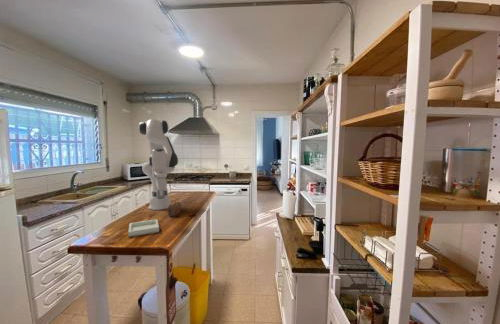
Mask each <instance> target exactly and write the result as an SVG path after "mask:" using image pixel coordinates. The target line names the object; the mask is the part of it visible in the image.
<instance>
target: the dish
mask: <svg viewBox="0 0 500 324" xmlns="http://www.w3.org/2000/svg"><path fill="white" fill-rule="evenodd" d="M127 232H128V235H127V236H128V238H133V237H137V236H144V235H150V234H155V233H160V224H159V221H158V218H156V219H149V220H142V221H136V222H130V223H129V225H128V231H127Z"/></svg>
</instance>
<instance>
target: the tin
mask: <svg viewBox="0 0 500 324" xmlns="http://www.w3.org/2000/svg"><path fill="white" fill-rule="evenodd" d="M170 204H171V205H169V207H168V208H167V215H168V216H169V217H174V216H176V215H178V214H180V212H181V210H182V205H181V203H180V202H179V201H174V202H173V203H170Z"/></svg>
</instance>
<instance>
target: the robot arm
mask: <svg viewBox="0 0 500 324" xmlns="http://www.w3.org/2000/svg"><path fill="white" fill-rule="evenodd" d="M169 127H170V126H169V123H168V121H167V120H163V119H161V120H157V119H155V118H152V119H149V120H147V121H144V120H143V121H140V122H139V123H138V131H139V132H140V134H141V135H144V136H145V135H146V138H147V140H148V150H149V156H148V161H147V162H144V163H143V164H142V167H141V168H142V169H141V170H142V173H143V174H144V175H146V176H147V177H148V178H149V180H151V181H150V182H151V186H152V187H151V188H152V191H151V198H150V199H149V205H148V207H147V209H148V210H153V211H154V210H155V211H156V210H157V211H159V210H165V209H168V207H169V205H171V204H172V203H171V197H170V195H169V194H168V187H167V186H168V185H167V183H168V182H167V179H166V178H167V176H168V174H170V173H172V172H174V170H175V168H176V166H178V164H179V157H178V156H177V154H176V152H175V150H174V147H173V145H172V142H171V140H170V139H169V137H168V136H167V135H165V134H167V133H168V132H169V130H170V129H169ZM157 190H159V194H160V196H162V195H163V190H165V198H160V199H157Z"/></svg>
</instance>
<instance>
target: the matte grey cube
mask: <svg viewBox="0 0 500 324" xmlns="http://www.w3.org/2000/svg"><path fill="white" fill-rule="evenodd" d="M160 198H165V190H163V195H162V196H160V194H159V190H157V199H160Z"/></svg>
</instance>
